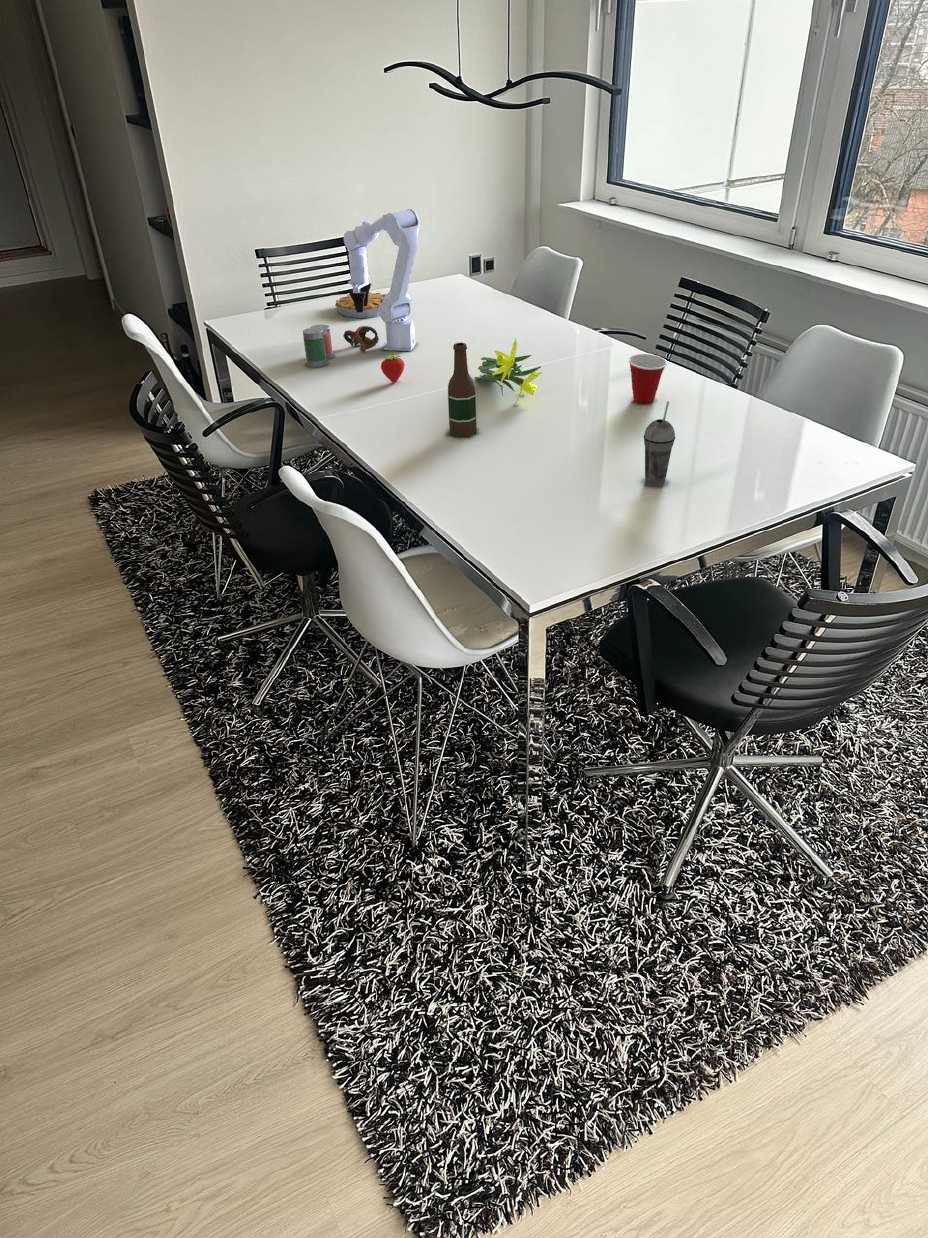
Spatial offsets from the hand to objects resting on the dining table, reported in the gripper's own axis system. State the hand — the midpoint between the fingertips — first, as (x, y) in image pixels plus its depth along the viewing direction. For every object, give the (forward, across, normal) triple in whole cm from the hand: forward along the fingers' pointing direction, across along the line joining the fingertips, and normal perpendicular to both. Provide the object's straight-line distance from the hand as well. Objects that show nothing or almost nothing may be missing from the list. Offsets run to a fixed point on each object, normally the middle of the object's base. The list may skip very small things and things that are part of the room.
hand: (362, 308), depth 308 cm
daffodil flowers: (+9, +54, +52) cm, 76 cm away
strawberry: (+9, +46, +18) cm, 50 cm away
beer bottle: (+9, +84, +44) cm, 95 cm away
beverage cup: (+8, +112, +93) cm, 146 cm away
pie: (+10, -32, -6) cm, 34 cm away
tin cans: (+10, +26, -10) cm, 29 cm away
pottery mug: (+10, +13, +2) cm, 16 cm away
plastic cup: (+8, +59, +94) cm, 111 cm away
